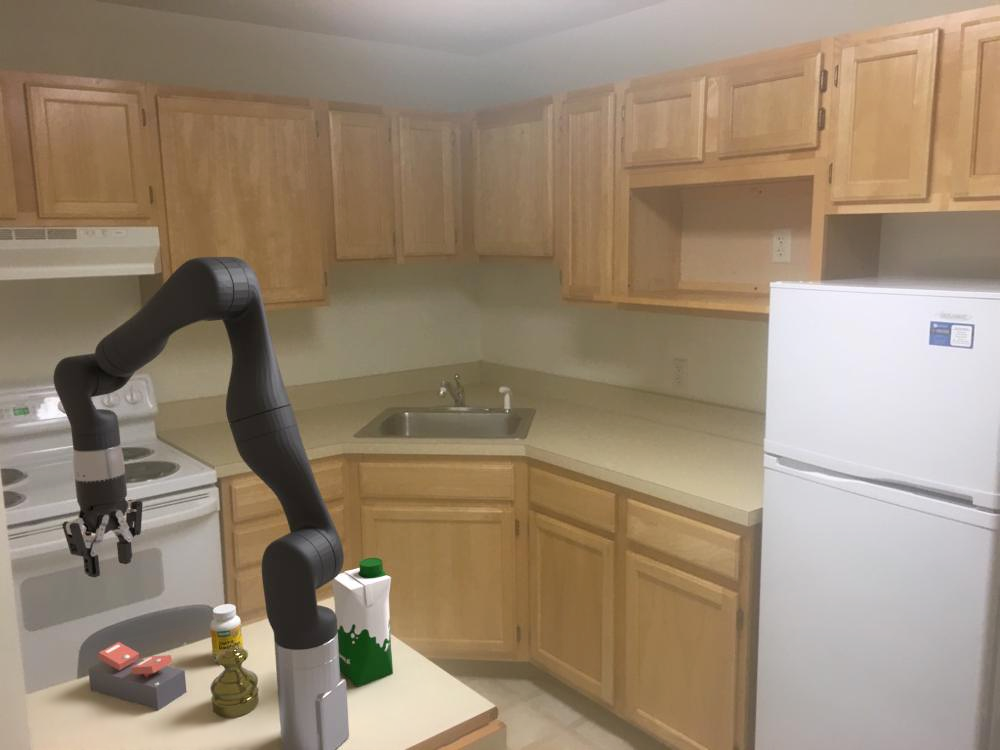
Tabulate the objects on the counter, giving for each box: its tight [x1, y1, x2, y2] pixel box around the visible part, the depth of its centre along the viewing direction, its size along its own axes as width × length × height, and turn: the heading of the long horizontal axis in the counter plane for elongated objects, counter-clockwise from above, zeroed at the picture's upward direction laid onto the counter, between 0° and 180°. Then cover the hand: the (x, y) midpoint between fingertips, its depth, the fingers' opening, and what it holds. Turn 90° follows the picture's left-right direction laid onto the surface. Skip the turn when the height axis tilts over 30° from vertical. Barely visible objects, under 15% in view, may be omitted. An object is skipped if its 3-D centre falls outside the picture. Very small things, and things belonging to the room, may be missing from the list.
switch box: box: [87, 657, 188, 711], centre depth 135 cm, size 16×6×4 cm, turn 65°
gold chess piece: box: [210, 647, 260, 718], centre depth 130 cm, size 7×7×10 cm
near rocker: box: [131, 654, 173, 677], centre depth 133 cm, size 5×4×2 cm
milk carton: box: [331, 557, 394, 688], centre depth 138 cm, size 9×9×20 cm
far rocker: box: [98, 641, 140, 670], centre depth 136 cm, size 5×4×2 cm
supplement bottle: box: [209, 603, 244, 663], centre depth 146 cm, size 5×5×10 cm
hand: (109, 569), depth 134 cm, fingers open, 5 cm apart
